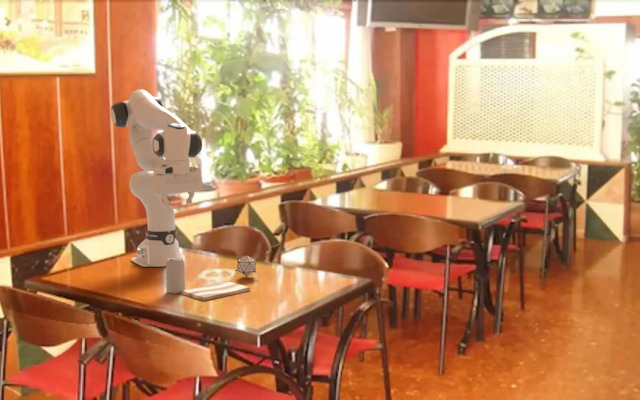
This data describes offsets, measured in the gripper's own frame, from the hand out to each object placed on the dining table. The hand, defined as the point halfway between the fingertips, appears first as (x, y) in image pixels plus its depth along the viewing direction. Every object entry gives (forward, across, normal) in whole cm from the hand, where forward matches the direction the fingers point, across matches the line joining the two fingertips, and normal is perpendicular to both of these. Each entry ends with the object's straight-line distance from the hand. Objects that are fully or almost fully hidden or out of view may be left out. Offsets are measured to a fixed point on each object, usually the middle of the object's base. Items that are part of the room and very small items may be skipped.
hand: (178, 205), depth 284 cm
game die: (+29, -20, +15) cm, 38 cm away
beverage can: (+29, +11, +13) cm, 34 cm away
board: (+29, +1, +23) cm, 37 cm away
